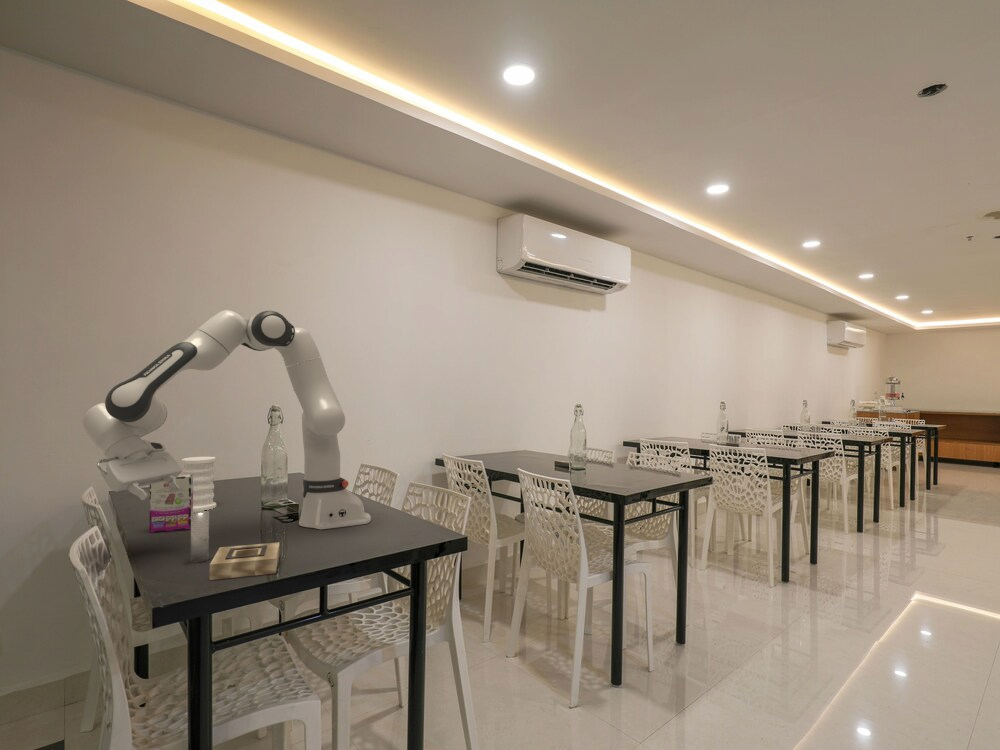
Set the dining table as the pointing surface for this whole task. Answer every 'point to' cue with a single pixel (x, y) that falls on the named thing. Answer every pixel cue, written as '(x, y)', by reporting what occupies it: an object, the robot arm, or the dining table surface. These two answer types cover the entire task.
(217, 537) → the dining table surface
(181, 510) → the candy bar box
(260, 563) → the socket block
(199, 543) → the aluminium pin
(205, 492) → the decorative container
